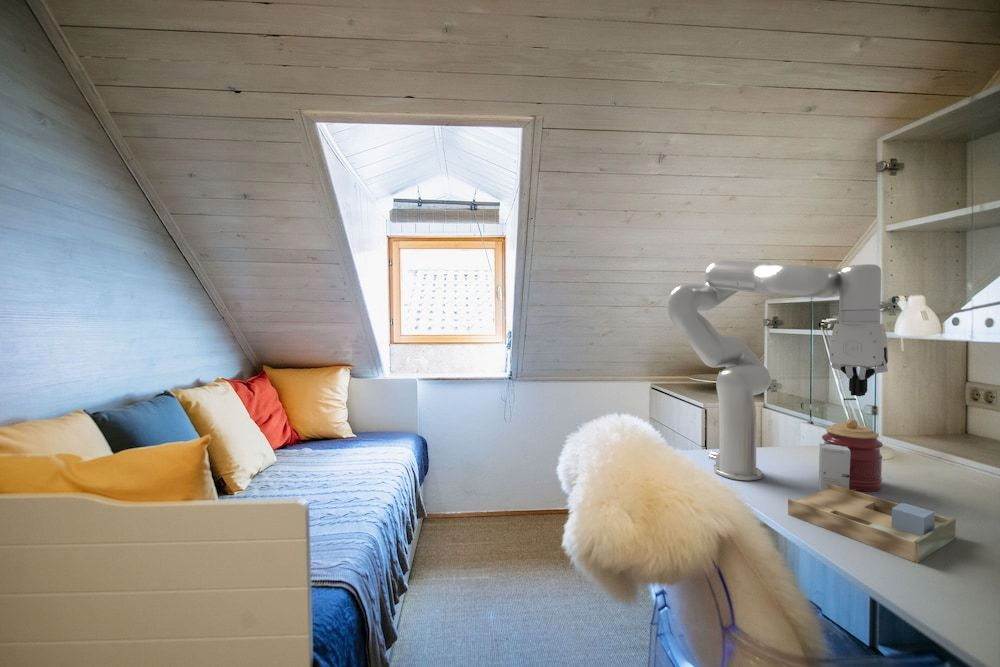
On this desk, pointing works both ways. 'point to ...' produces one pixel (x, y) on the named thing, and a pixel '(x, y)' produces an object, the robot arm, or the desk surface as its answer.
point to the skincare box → (834, 466)
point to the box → (869, 522)
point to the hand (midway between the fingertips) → (857, 395)
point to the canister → (859, 453)
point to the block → (912, 519)
